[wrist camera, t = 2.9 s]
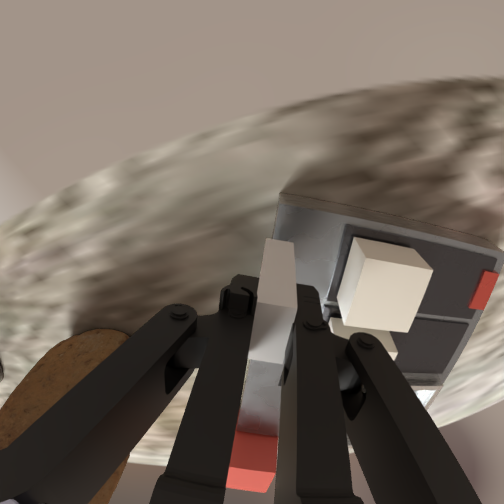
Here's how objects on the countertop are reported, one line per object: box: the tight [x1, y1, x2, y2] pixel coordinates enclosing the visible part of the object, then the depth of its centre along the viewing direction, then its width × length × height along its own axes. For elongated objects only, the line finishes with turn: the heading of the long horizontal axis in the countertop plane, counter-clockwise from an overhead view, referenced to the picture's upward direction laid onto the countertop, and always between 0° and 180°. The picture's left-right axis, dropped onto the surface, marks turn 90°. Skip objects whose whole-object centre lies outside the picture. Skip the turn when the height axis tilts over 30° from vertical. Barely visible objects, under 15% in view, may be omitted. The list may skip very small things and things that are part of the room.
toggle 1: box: [337, 237, 433, 333], centre depth 17 cm, size 4×4×3 cm
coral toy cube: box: [226, 410, 278, 493], centre depth 27 cm, size 5×5×7 cm
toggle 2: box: [328, 317, 398, 360], centre depth 19 cm, size 4×4×3 cm
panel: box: [236, 193, 504, 448], centre depth 22 cm, size 17×21×4 cm
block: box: [0, 329, 130, 504], centre depth 19 cm, size 11×8×20 cm
